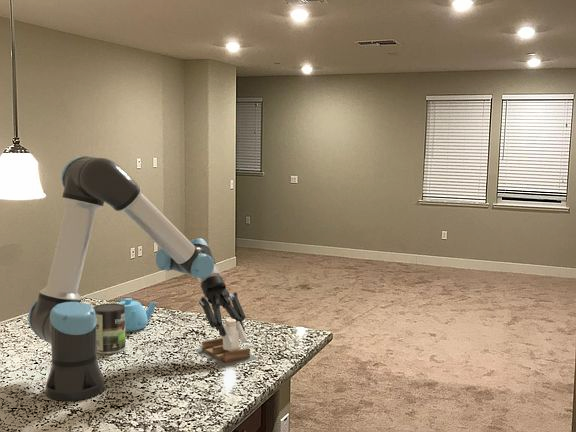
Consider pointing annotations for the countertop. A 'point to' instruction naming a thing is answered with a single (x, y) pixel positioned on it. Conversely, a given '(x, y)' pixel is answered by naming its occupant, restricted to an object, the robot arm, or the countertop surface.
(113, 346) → the coffee can
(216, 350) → the rack
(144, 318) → the teapot
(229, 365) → the mat
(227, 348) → the salt shaker
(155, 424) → the countertop surface
